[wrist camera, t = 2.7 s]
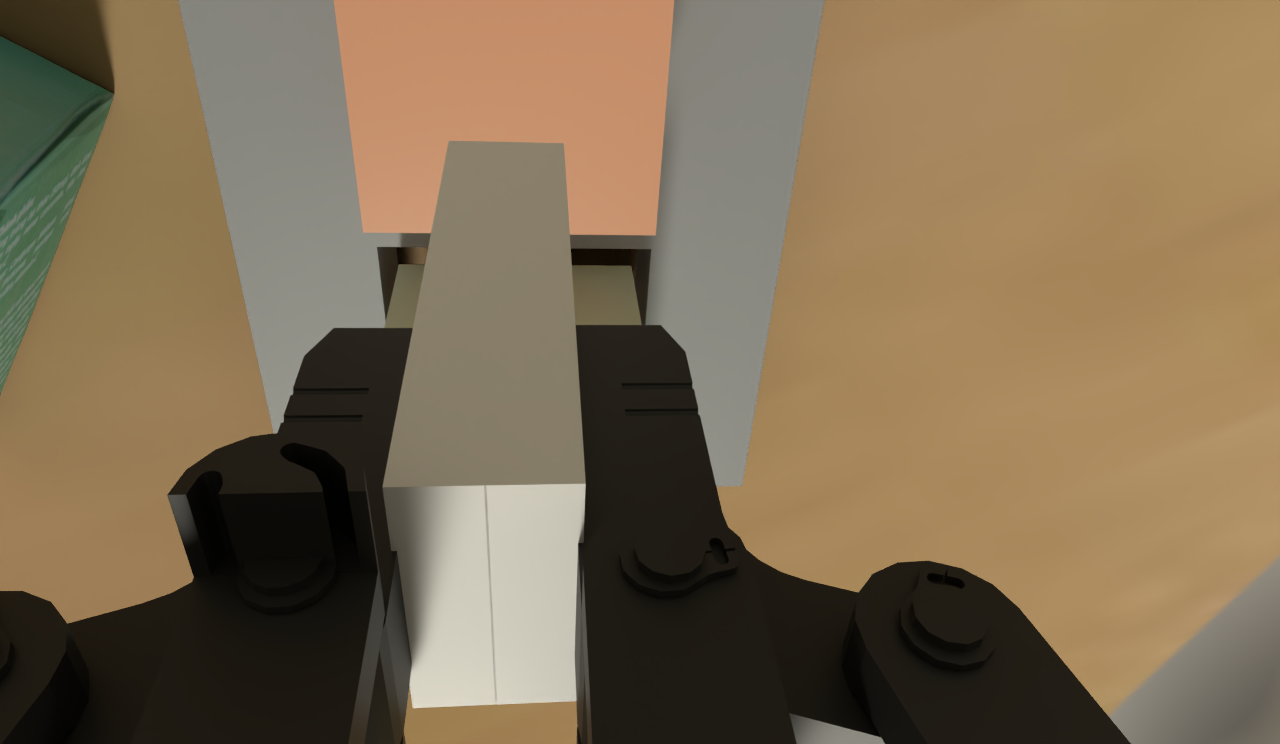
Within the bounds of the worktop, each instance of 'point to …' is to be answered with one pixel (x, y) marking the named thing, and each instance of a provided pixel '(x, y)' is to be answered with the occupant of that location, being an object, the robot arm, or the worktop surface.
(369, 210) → the terracotta button
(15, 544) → the worktop surface
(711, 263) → the button board
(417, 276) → the sage button
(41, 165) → the box
